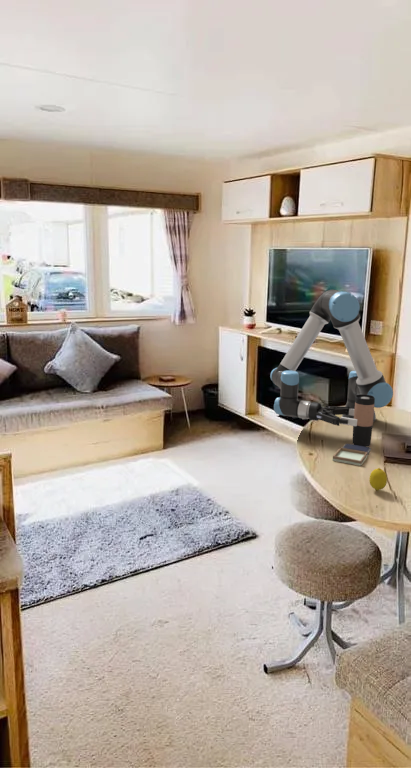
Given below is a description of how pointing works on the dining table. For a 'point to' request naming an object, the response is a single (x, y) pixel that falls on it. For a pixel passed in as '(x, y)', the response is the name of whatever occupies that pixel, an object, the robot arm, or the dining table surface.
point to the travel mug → (363, 420)
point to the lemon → (378, 479)
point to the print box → (350, 456)
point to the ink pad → (357, 448)
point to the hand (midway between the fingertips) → (361, 418)
